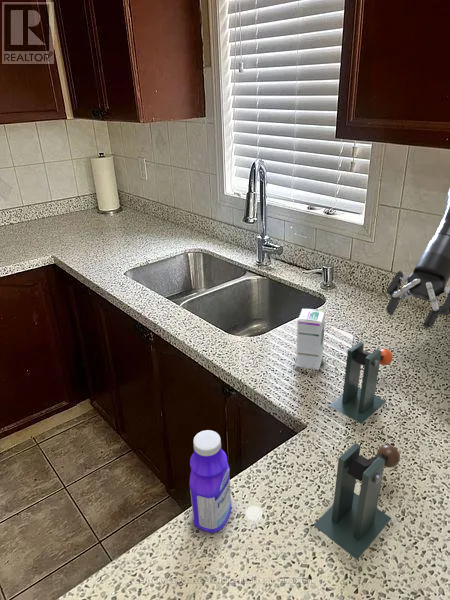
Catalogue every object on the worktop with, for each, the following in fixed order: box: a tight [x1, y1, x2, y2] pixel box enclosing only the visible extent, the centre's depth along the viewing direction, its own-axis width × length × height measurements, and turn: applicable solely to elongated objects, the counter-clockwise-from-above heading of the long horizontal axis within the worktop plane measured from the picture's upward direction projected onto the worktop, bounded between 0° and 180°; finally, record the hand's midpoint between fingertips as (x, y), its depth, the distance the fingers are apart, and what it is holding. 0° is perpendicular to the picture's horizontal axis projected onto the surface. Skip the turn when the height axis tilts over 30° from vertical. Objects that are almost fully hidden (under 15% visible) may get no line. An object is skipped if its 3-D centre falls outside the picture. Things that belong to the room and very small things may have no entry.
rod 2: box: [347, 444, 401, 482], centre depth 69 cm, size 13×4×4 cm, turn 134°
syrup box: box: [295, 308, 326, 371], centre depth 108 cm, size 6×6×14 cm
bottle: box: [188, 429, 232, 534], centre depth 70 cm, size 7×6×17 cm
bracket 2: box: [312, 442, 392, 561], centre depth 68 cm, size 10×8×15 cm
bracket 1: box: [328, 341, 387, 425], centre depth 93 cm, size 10×8×15 cm
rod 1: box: [354, 348, 394, 366], centre depth 95 cm, size 13×4×4 cm, turn 134°
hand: (406, 320), depth 100 cm, fingers open, 8 cm apart
